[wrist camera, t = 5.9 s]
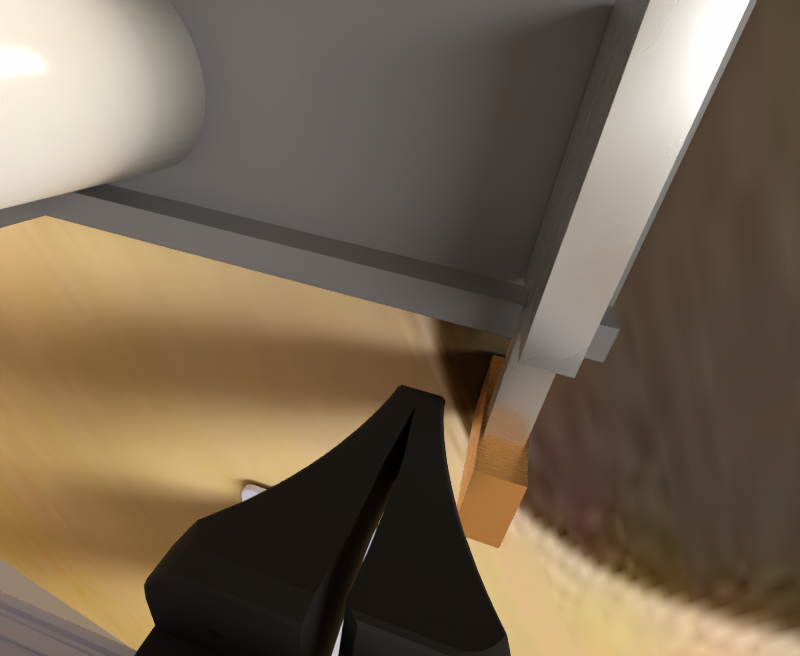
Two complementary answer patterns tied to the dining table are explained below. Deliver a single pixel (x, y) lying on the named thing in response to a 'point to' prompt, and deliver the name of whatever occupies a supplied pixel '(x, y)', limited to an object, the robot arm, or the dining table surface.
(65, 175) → the cream jar
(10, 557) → the dining table surface
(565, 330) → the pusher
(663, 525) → the dining table surface
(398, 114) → the lane
